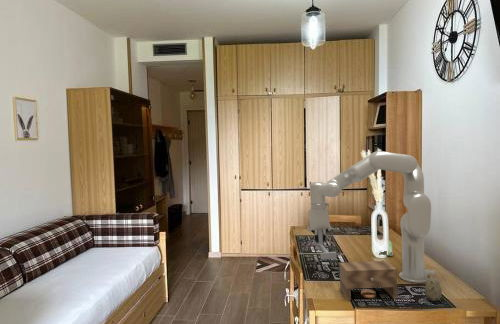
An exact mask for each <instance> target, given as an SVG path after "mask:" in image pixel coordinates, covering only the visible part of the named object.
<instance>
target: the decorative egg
mask: <svg viewBox="0 0 500 324" xmlns="http://www.w3.org/2000/svg"><path fill="white" fill-rule="evenodd" d="M424 293H425V296H426V298H427V299H428V300H430V301H432V302H438V301H440V299H442V298H441V297H442V293H443V292H442V287H441V283H440V282H439V280H438V279H437V277H435V276H429V277H428V280H427V282H425V286H424Z"/></svg>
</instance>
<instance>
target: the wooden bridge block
mask: <svg viewBox="0 0 500 324" xmlns="http://www.w3.org/2000/svg"><path fill="white" fill-rule="evenodd" d="M397 275H398V272H397V268H396V267H394V266H393V265H392V264H391V263H390V262H388V261H387V260H378V261H375V260H374V261H351V262H347V261H346V262H339V291H340V292H341V293H342V295H343V296H344V298H345V300H346V301H351V300H352V297H351V296H352V294H351V290H353V289H373V288H379V289H380V288H382V289H383V290H384V291H385V292H386V293H387V294H388V295H389V296H390V297H391V298H392V299H393V300H394V299H398V279H397V278H398V277H397Z"/></svg>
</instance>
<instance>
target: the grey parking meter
mask: <svg viewBox="0 0 500 324" xmlns="http://www.w3.org/2000/svg"><path fill="white" fill-rule="evenodd" d="M317 234H318V239H319V243H317V242H316V245H315V248H316V250H318V251H319V250H320V251H322V252H320V260H334V259H337V257H338V256H337V251H329V250H328V249H327V247H326V246H325V245H324V243H323V231H322V229H317Z"/></svg>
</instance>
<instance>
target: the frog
mask: <svg viewBox="0 0 500 324" xmlns="http://www.w3.org/2000/svg"><path fill="white" fill-rule="evenodd" d="M378 240H380V238H377V241H378ZM389 256H390V257H393V256H394V252H393V243H392V242H391V240H389V251H388V257H389Z"/></svg>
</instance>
